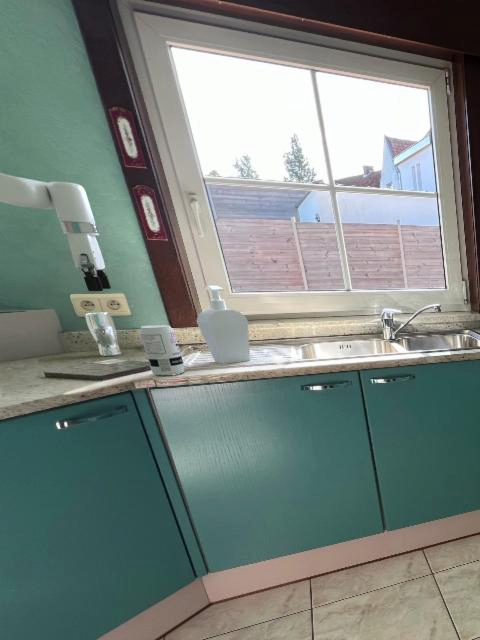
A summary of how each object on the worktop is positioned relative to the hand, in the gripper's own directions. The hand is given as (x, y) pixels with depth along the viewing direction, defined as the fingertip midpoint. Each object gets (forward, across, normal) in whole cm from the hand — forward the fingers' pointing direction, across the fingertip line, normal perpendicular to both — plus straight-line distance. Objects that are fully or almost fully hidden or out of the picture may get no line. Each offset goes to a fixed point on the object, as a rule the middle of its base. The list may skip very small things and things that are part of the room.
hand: (100, 289), depth 151 cm
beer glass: (+25, -32, -10) cm, 42 cm away
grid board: (+25, 0, -4) cm, 25 cm away
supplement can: (+25, +12, +12) cm, 30 cm away
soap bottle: (+25, -4, +28) cm, 38 cm away
